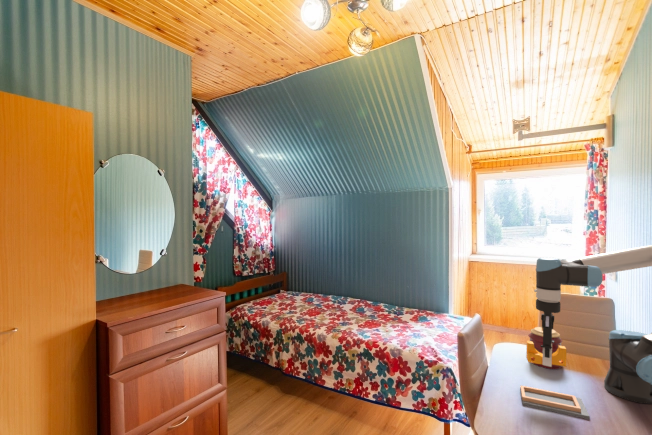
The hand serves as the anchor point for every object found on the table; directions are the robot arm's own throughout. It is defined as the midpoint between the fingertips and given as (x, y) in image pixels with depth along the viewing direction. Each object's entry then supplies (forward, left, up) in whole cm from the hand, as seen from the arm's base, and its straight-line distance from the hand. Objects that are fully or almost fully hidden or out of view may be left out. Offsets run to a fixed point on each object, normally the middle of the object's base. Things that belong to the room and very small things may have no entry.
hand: (547, 362), depth 119 cm
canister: (-3, -34, -14) cm, 37 cm away
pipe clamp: (0, 0, 0) cm, 1 cm away
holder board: (-1, +3, -13) cm, 14 cm away
